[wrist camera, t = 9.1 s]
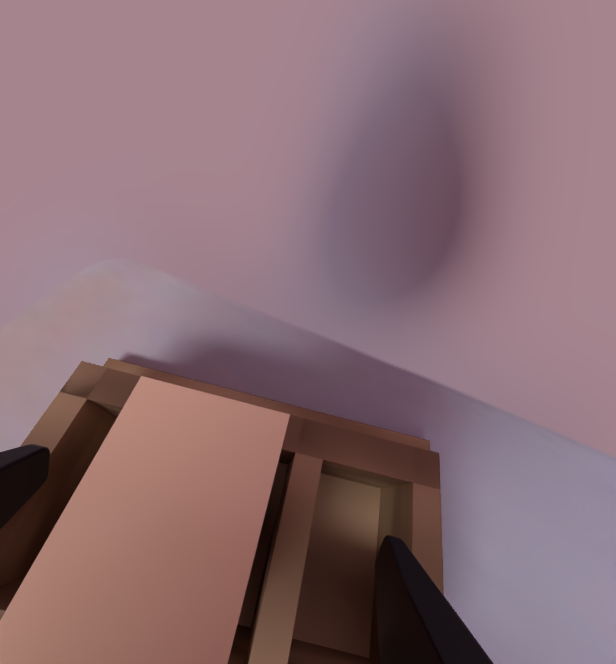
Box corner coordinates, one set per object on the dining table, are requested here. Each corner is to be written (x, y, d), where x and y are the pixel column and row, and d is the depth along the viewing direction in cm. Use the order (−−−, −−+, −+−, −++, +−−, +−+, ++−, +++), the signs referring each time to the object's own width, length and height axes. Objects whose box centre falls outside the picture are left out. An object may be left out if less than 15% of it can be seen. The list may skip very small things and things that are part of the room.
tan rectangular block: (241, 591, 13) (152, 959, 2) (186, 577, 13) (-152, 884, 2) (270, 480, 15) (290, 414, 5) (224, 468, 15) (141, 375, 5)
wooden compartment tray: (424, 786, 11) (516, 940, 7) (-77, 658, 11) (-268, 743, 7) (423, 443, 18) (469, 424, 14) (114, 363, 18) (72, 321, 14)
